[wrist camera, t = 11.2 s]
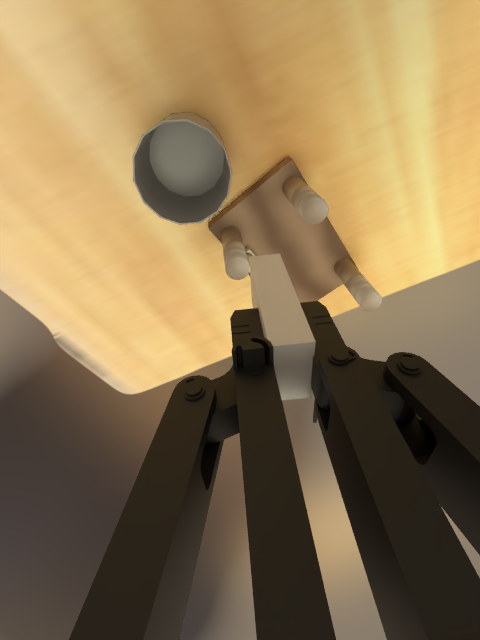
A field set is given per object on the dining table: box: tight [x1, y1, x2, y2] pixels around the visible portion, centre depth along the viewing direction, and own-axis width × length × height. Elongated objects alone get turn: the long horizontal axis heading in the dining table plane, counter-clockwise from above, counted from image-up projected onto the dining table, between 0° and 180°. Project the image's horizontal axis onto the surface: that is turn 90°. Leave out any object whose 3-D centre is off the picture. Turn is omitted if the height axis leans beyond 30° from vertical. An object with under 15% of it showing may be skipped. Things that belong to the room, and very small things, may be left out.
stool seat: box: [208, 157, 382, 311], centre depth 38 cm, size 12×18×11 cm
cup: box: [133, 112, 232, 225], centre depth 31 cm, size 8×8×10 cm
